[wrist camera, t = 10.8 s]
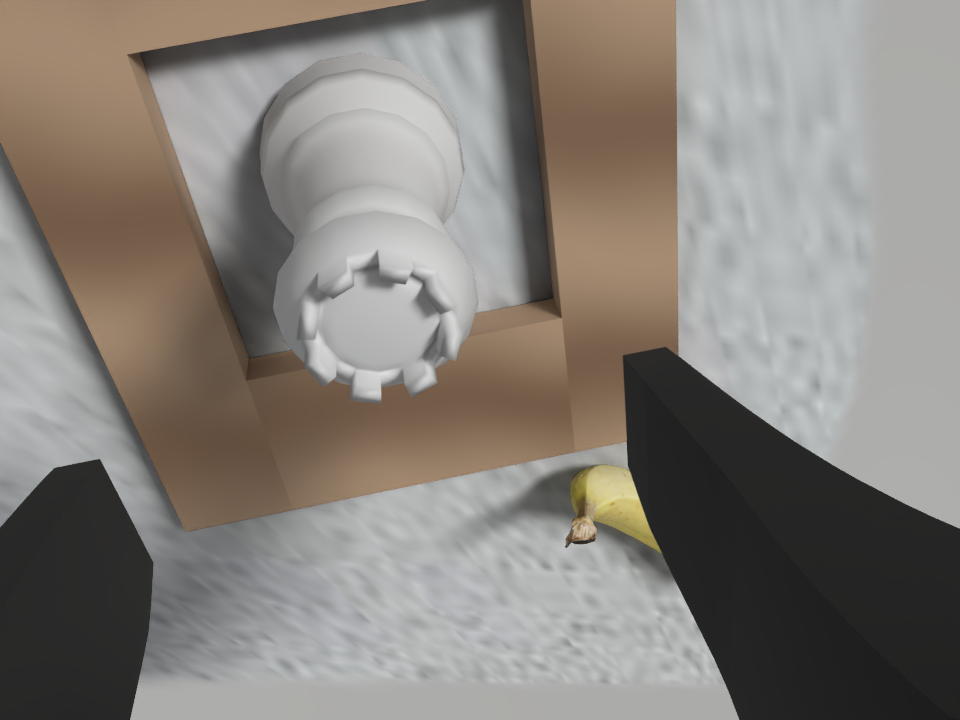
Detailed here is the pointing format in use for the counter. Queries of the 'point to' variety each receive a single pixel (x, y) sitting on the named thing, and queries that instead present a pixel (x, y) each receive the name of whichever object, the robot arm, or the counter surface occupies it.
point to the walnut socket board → (282, 376)
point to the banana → (607, 505)
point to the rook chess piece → (368, 224)
